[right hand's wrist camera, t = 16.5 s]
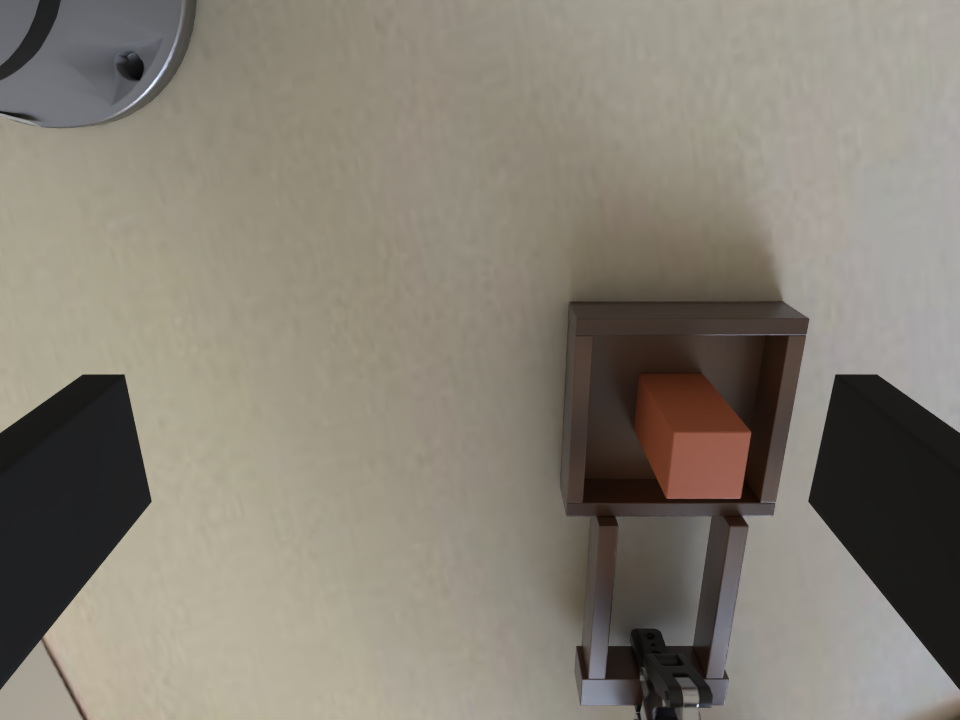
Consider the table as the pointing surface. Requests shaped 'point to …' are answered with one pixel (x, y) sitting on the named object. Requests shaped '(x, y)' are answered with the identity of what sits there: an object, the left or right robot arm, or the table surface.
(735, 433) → the terracotta block
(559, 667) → the table surface
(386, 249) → the table surface
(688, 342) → the walnut tray
